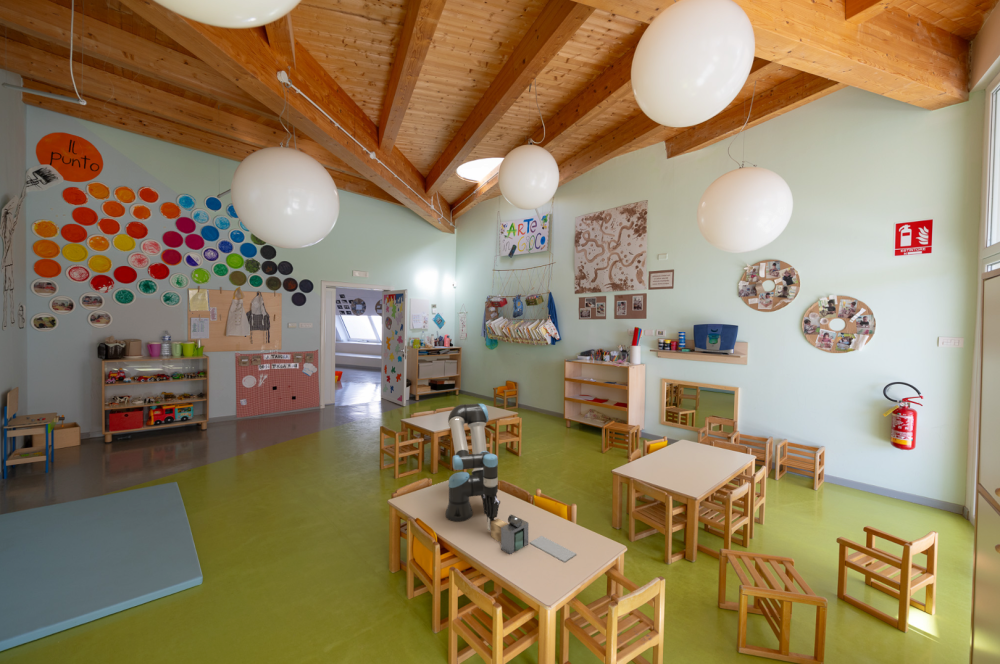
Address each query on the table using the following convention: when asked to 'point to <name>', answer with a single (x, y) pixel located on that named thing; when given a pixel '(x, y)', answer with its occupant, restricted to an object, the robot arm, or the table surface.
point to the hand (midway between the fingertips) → (490, 529)
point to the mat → (553, 549)
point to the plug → (496, 533)
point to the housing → (509, 531)
